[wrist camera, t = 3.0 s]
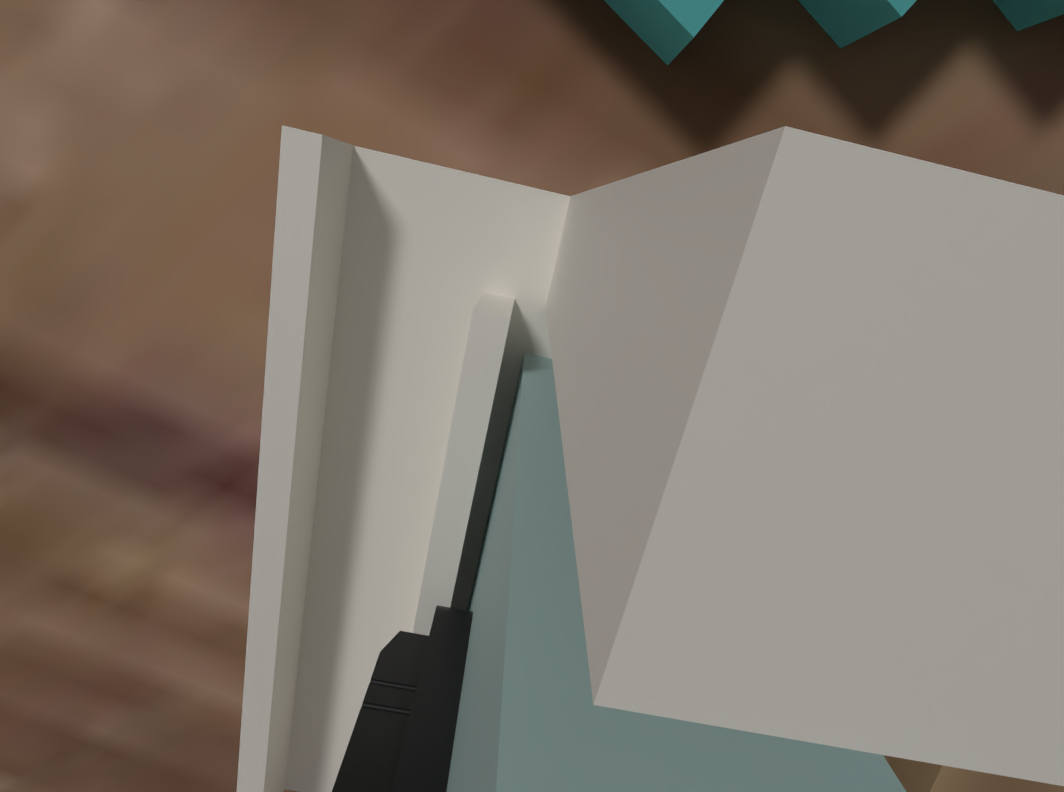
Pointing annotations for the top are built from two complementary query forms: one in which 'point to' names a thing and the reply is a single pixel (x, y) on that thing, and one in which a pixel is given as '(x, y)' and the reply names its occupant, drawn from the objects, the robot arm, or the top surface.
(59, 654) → the top surface
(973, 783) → the offcut top
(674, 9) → the alien figure
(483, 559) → the grey-green square slab
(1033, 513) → the rack
